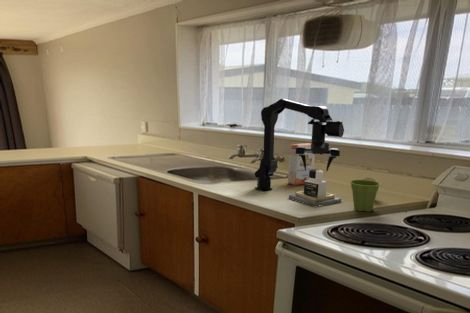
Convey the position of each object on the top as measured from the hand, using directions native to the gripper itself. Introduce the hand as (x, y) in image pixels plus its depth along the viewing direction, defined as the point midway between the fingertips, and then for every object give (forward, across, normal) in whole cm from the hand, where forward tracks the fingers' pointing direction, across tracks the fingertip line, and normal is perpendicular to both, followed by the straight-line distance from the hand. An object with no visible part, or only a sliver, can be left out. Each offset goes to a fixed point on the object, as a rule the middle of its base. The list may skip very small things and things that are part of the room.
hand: (316, 170), depth 171 cm
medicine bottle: (+12, 0, -2) cm, 12 cm away
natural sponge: (+13, +23, +7) cm, 28 cm away
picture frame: (+13, 0, -2) cm, 13 cm away
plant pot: (+13, +19, -11) cm, 26 cm away
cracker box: (+13, -6, +32) cm, 35 cm away
